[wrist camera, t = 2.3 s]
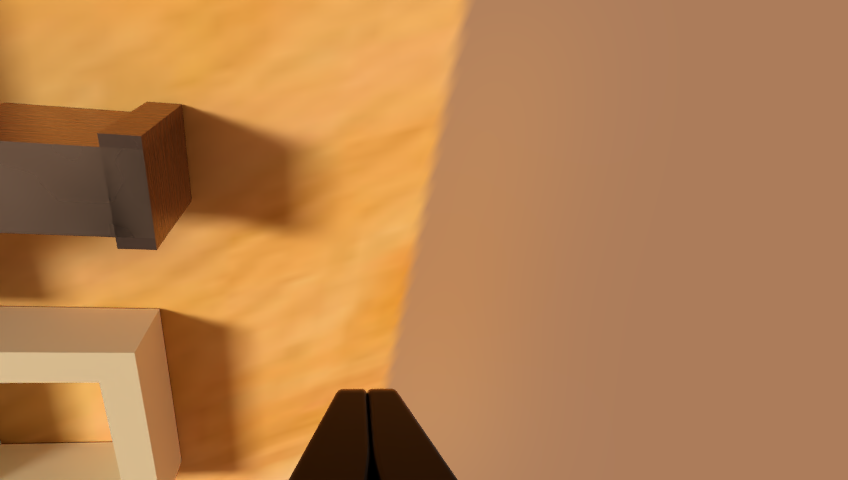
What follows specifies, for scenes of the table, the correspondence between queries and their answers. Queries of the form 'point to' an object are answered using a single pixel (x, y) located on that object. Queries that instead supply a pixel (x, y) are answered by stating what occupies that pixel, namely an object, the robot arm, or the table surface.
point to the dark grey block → (93, 172)
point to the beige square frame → (119, 381)
